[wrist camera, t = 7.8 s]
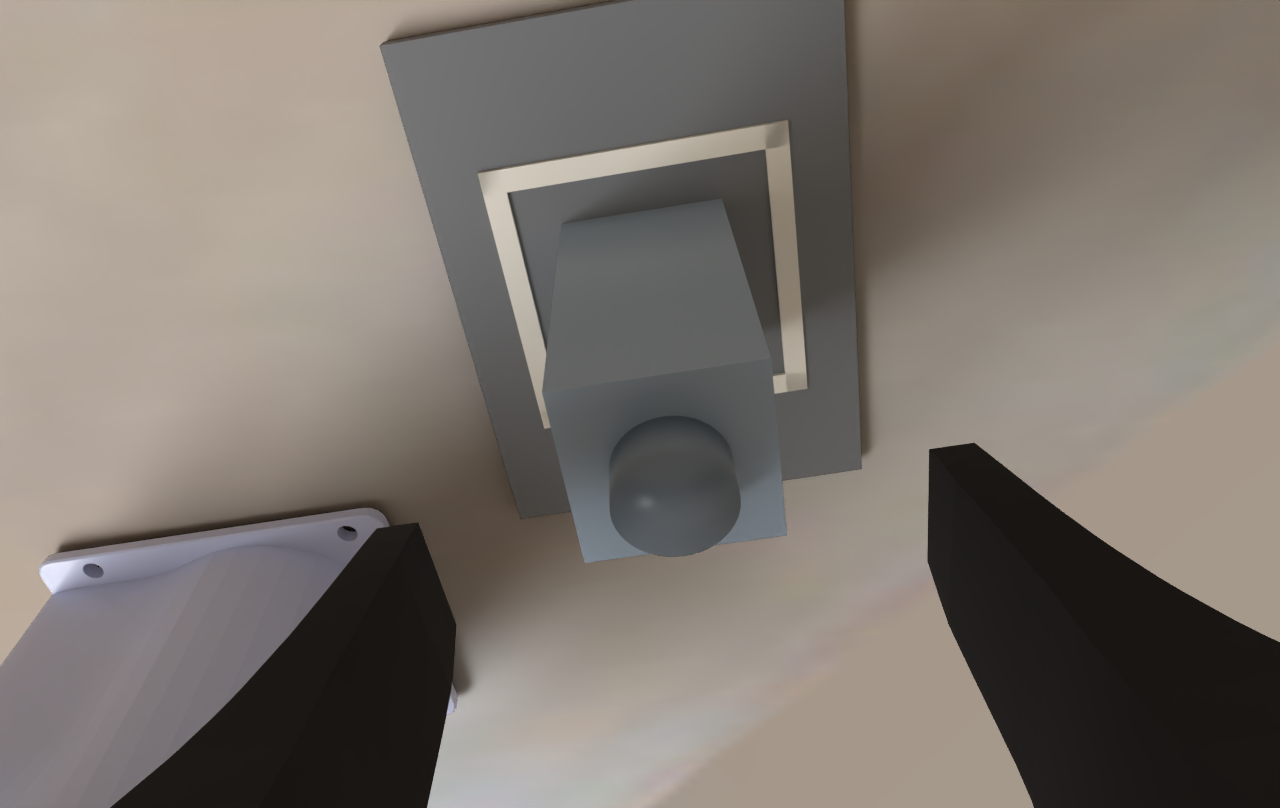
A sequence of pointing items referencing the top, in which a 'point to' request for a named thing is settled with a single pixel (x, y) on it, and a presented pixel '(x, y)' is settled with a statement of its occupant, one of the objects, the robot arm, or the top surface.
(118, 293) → the top surface
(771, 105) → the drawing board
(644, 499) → the grey rectangular block
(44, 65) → the top surface
